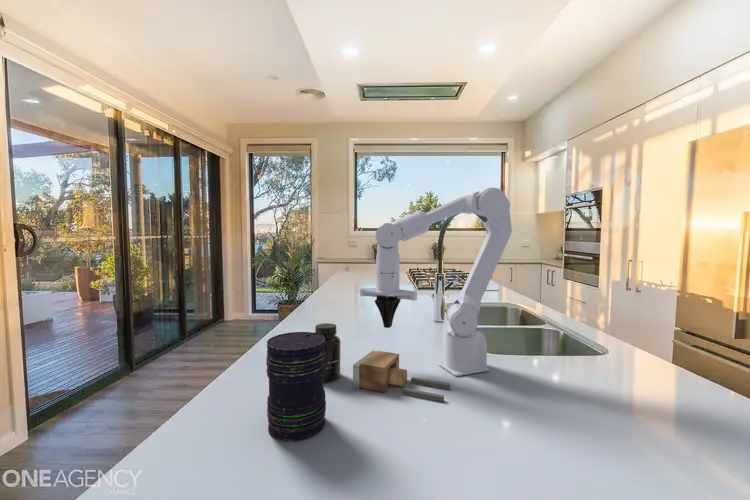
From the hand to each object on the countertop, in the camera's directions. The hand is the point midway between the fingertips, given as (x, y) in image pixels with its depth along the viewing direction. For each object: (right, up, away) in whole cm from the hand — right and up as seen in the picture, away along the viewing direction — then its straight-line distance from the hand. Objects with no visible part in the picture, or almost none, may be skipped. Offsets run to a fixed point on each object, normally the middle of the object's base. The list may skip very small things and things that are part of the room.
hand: (387, 326), depth 85 cm
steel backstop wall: (-5, -10, -8) cm, 14 cm away
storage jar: (-17, -11, -26) cm, 33 cm away
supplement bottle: (-15, -10, -6) cm, 19 cm away
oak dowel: (0, -10, -10) cm, 14 cm away
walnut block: (-2, -10, -9) cm, 14 cm away
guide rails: (+8, -11, -13) cm, 19 cm away
